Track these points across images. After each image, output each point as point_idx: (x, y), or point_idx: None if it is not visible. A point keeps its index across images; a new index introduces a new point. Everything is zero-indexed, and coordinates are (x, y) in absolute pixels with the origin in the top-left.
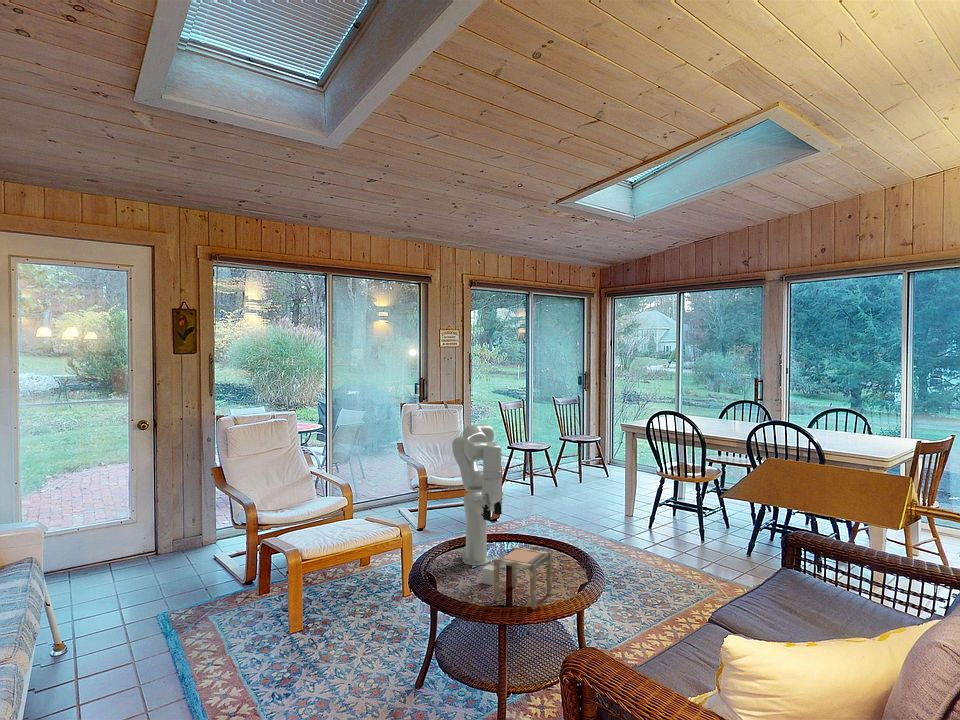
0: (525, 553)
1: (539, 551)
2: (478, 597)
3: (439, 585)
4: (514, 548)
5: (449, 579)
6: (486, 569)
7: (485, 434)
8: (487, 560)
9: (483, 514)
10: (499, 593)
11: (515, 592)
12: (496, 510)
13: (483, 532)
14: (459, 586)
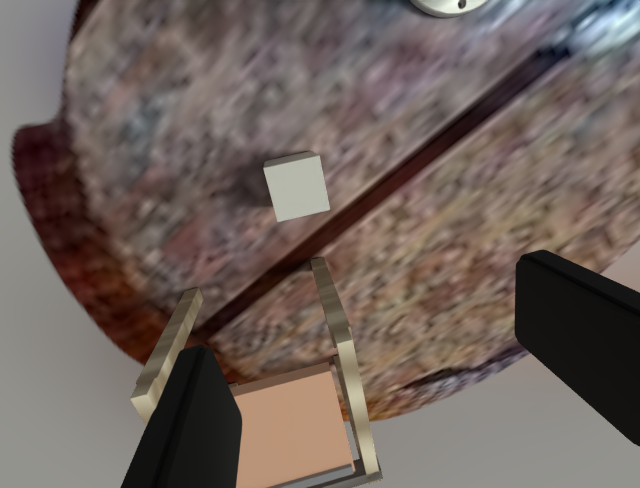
0: (307, 431)
1: (369, 446)
2: (166, 235)
3: (106, 18)
4: (339, 354)
5: (191, 3)
6: (269, 189)
7: None
8: (465, 3)
9: (157, 413)
10: (197, 311)
11: (287, 290)
12: (559, 315)
13: None
14: (175, 106)
